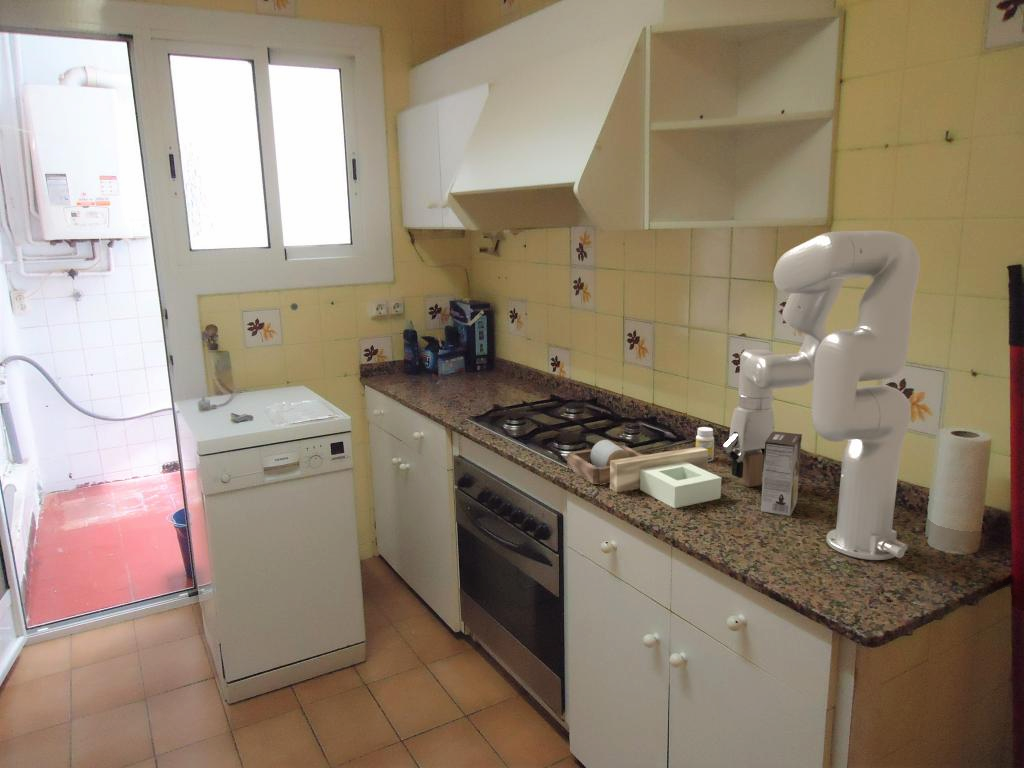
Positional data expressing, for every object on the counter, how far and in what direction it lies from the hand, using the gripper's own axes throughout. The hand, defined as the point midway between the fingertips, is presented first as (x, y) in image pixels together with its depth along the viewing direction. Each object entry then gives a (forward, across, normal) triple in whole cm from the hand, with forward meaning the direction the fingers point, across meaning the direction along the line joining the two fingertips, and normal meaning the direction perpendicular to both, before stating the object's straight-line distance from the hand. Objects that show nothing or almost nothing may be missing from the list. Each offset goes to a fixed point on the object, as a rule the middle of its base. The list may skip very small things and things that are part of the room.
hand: (750, 473), depth 171 cm
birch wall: (+3, +19, -10) cm, 22 cm away
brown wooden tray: (+3, +26, -22) cm, 34 cm away
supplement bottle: (+3, -2, -20) cm, 20 cm away
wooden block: (+3, 0, 0) cm, 3 cm away
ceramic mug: (+3, +24, -22) cm, 33 cm away
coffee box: (+3, +4, +14) cm, 15 cm away
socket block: (+3, +19, -2) cm, 19 cm away
